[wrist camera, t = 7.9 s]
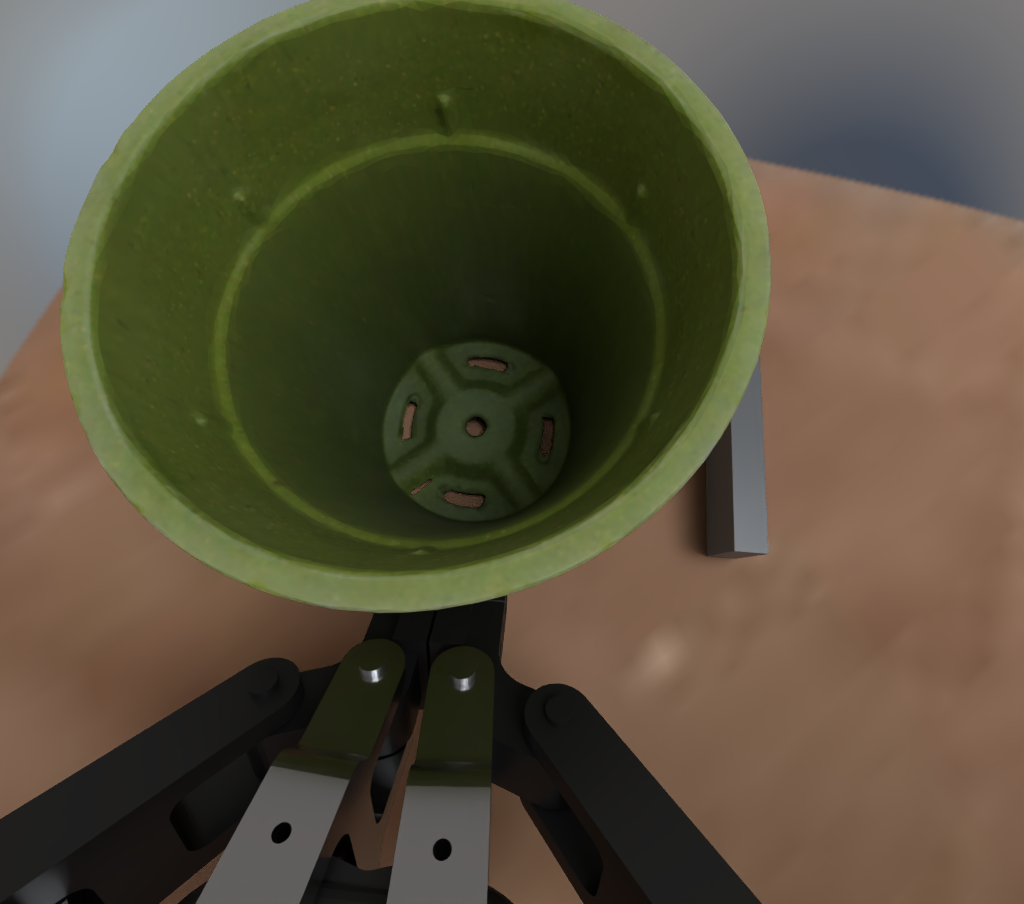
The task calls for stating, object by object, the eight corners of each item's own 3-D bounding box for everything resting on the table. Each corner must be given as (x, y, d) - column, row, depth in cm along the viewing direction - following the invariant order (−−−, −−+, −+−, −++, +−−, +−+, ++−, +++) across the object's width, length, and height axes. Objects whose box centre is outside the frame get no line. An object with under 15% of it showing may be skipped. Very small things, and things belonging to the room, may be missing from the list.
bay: (726, 218, 21) (751, 171, 19) (736, 558, 18) (768, 553, 15) (306, 198, 22) (280, 151, 20) (236, 517, 19) (192, 507, 16)
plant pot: (289, 349, 20) (19, 78, 10) (567, 260, 21) (609, -88, 10) (364, 647, 17) (92, 744, 7) (685, 532, 18) (920, 448, 7)
